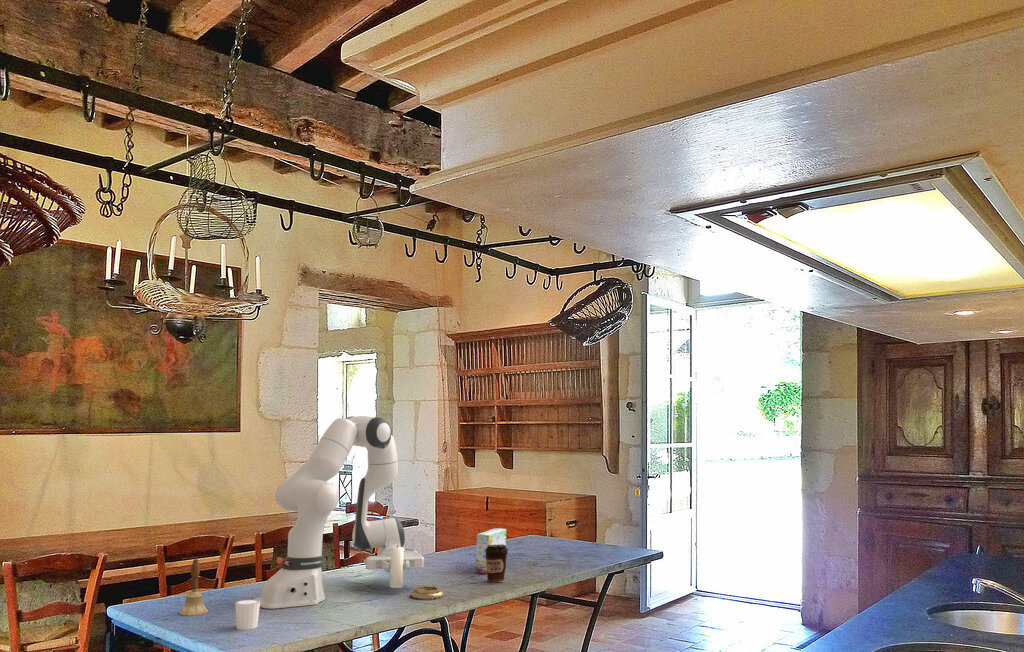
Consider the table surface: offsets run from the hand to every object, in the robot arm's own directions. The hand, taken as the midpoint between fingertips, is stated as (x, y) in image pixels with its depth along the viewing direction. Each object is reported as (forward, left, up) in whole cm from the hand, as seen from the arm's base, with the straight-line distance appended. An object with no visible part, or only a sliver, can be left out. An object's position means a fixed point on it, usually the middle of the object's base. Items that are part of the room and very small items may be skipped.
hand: (397, 565), depth 275 cm
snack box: (+54, +19, -10) cm, 58 cm away
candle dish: (+7, -9, -9) cm, 15 cm away
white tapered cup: (-56, -14, -10) cm, 59 cm away
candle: (0, +1, -7) cm, 7 cm away
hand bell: (-63, +13, -10) cm, 65 cm away
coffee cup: (+41, -2, -10) cm, 42 cm away
